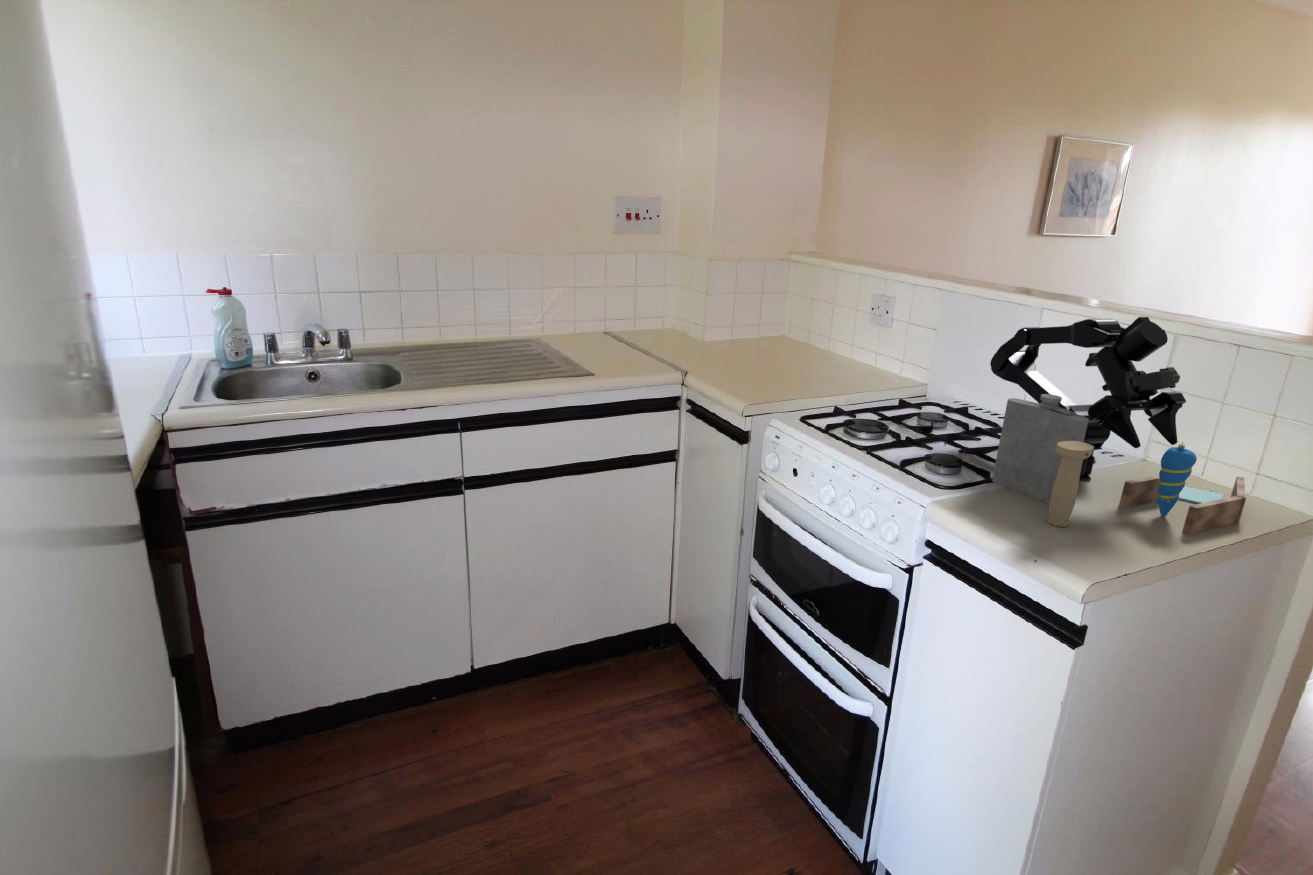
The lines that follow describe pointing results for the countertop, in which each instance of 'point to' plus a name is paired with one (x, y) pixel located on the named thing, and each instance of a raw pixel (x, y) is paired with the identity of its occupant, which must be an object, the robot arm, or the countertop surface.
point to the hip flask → (1035, 444)
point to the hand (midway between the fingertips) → (1156, 445)
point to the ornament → (1173, 476)
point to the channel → (1198, 514)
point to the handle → (1067, 480)
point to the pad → (1198, 495)
